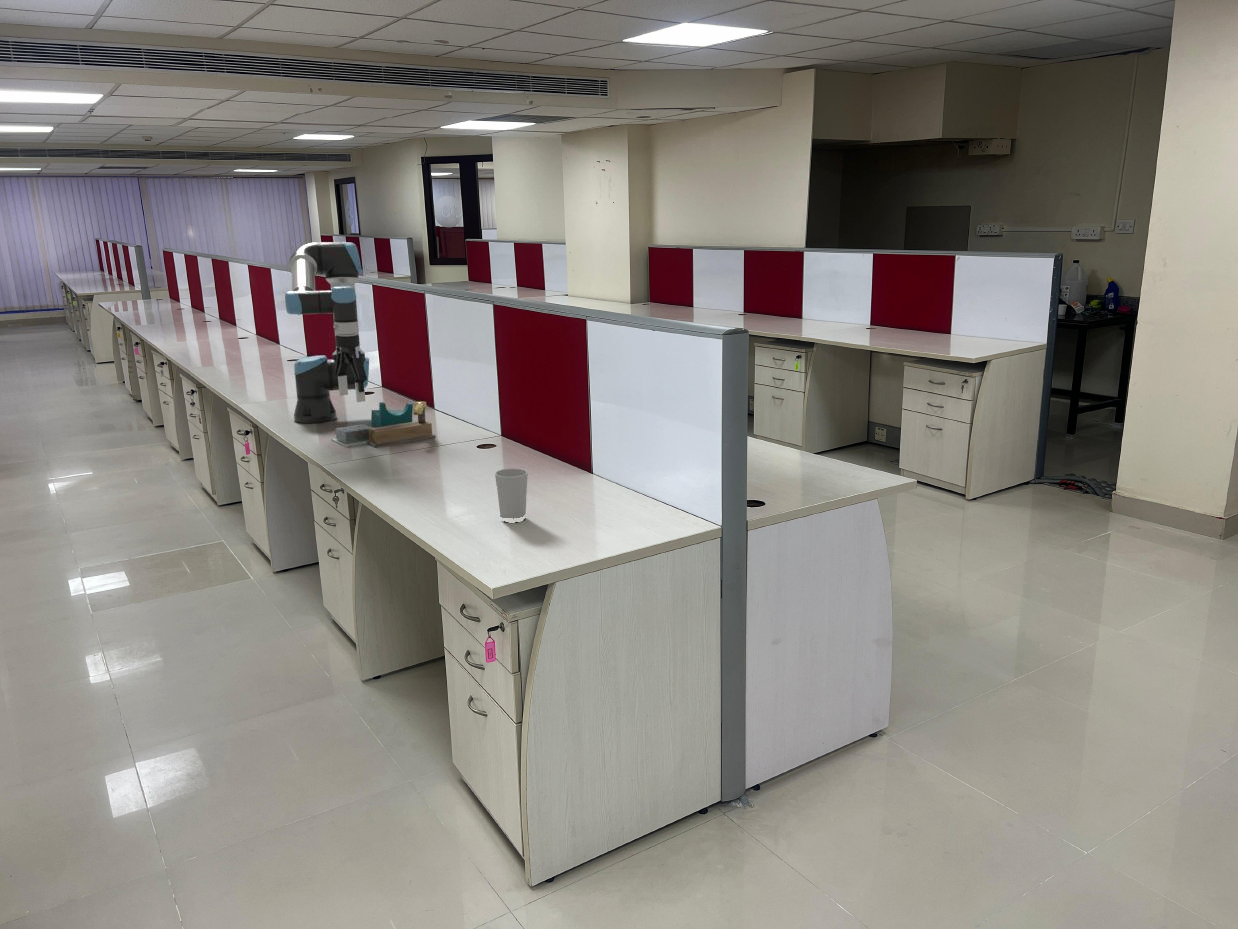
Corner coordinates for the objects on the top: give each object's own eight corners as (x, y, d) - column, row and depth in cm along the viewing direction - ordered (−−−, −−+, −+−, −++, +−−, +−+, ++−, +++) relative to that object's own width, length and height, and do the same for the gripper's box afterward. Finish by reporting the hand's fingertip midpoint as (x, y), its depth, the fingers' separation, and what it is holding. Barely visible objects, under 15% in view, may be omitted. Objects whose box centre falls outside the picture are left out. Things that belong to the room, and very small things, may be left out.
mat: (331, 440, 299) (331, 439, 299) (365, 435, 307) (364, 433, 307) (346, 446, 290) (346, 445, 290) (380, 441, 298) (380, 440, 298)
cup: (497, 514, 222) (495, 468, 219) (529, 513, 223) (528, 467, 220) (496, 525, 215) (494, 477, 212) (529, 524, 215) (527, 476, 212)
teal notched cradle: (411, 433, 312) (412, 404, 310) (380, 433, 307) (381, 404, 305) (401, 423, 328) (401, 395, 325) (371, 423, 323) (371, 395, 321)
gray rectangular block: (336, 439, 298) (335, 428, 297) (364, 435, 305) (363, 424, 304) (346, 444, 292) (345, 432, 291) (374, 439, 299) (373, 427, 298)
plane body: (366, 443, 295) (364, 414, 292) (425, 433, 308) (424, 406, 306) (375, 447, 290) (373, 418, 287) (435, 437, 303) (434, 409, 301)
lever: (412, 415, 290) (411, 409, 290) (416, 407, 303) (415, 401, 302) (423, 415, 291) (422, 409, 290) (426, 407, 303) (426, 401, 303)
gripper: (320, 331, 296) (326, 393, 302) (352, 339, 278) (357, 406, 284) (342, 329, 301) (347, 391, 307) (374, 337, 282) (379, 402, 288)
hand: (352, 398), depth 295 cm, fingers open, 13 cm apart
